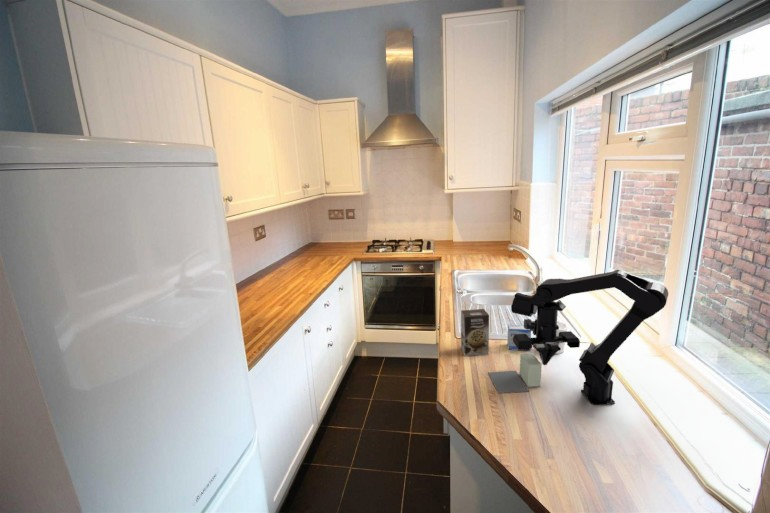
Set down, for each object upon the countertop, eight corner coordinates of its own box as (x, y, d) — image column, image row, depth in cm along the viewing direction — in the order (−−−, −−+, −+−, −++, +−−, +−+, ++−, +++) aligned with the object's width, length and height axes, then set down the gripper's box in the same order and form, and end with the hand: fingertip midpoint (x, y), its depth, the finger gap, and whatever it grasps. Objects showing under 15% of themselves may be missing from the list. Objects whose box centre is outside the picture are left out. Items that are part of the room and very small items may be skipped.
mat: (516, 371, 119) (516, 370, 119) (528, 391, 108) (528, 390, 108) (488, 373, 119) (488, 372, 119) (498, 393, 109) (498, 392, 109)
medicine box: (508, 349, 133) (508, 329, 131) (507, 344, 137) (507, 323, 135) (530, 351, 131) (531, 330, 129) (528, 345, 135) (529, 324, 133)
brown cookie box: (465, 356, 130) (464, 316, 126) (460, 348, 136) (460, 309, 132) (489, 354, 130) (489, 314, 126) (484, 346, 137) (484, 307, 132)
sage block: (531, 374, 117) (532, 352, 115) (540, 387, 110) (541, 364, 108) (519, 375, 117) (520, 353, 115) (527, 387, 110) (528, 365, 108)
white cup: (543, 342, 136) (544, 319, 133) (566, 346, 132) (568, 322, 129) (540, 352, 130) (542, 327, 127) (564, 356, 126) (566, 331, 123)
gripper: (564, 307, 116) (561, 350, 120) (508, 310, 116) (506, 352, 120) (582, 322, 105) (578, 368, 109) (520, 326, 106) (518, 371, 110)
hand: (544, 364), depth 112 cm, fingers closed
